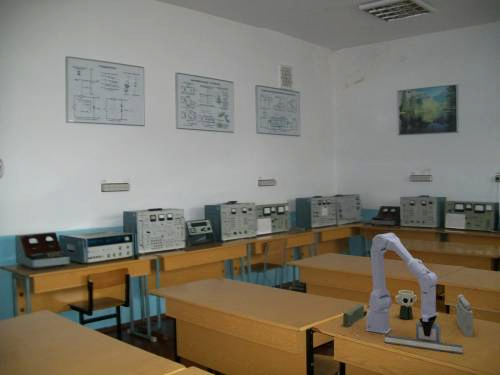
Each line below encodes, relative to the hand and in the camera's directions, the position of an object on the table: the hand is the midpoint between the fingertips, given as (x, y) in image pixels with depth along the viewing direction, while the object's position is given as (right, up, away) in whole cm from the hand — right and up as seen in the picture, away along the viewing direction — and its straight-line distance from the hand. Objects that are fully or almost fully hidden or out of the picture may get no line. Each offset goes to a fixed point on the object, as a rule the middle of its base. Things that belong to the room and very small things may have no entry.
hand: (428, 334), depth 217 cm
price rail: (-4, -4, -6) cm, 8 cm away
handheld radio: (-23, -3, +34) cm, 41 cm away
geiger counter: (+22, -3, +20) cm, 30 cm away
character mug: (+2, -3, +37) cm, 37 cm away
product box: (0, -3, 0) cm, 3 cm away
